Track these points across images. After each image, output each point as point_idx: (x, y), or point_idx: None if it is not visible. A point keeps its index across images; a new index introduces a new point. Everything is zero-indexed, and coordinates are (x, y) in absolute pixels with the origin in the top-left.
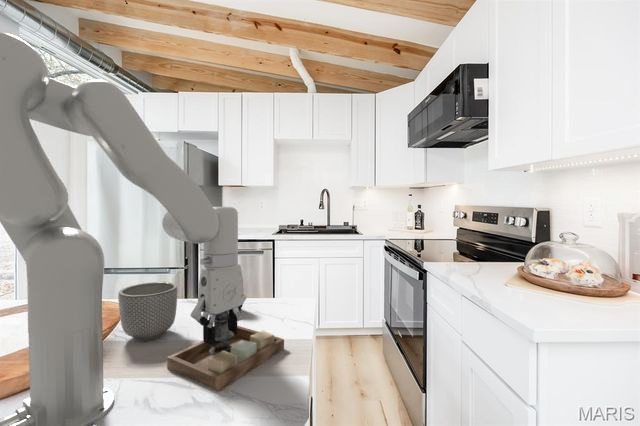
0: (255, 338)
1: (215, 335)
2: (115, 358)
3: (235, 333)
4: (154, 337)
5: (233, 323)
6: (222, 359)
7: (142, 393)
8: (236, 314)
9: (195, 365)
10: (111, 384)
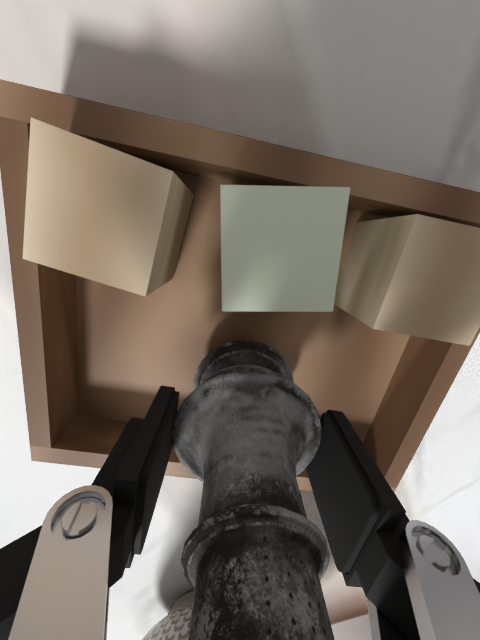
0: (158, 238)
1: (299, 451)
2: (336, 585)
3: (174, 388)
4: None
5: (160, 450)
6: (475, 268)
7: (475, 432)
8: (96, 517)
9: (434, 381)
10: (443, 514)
